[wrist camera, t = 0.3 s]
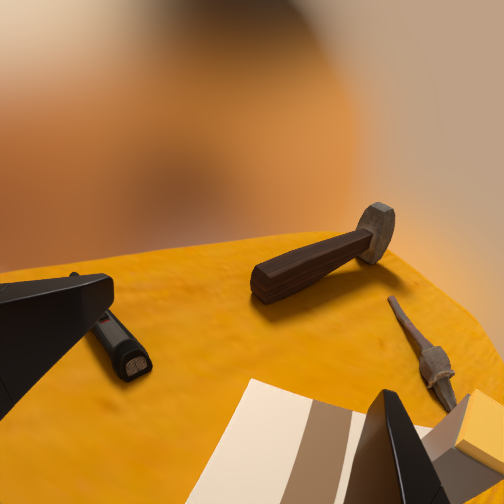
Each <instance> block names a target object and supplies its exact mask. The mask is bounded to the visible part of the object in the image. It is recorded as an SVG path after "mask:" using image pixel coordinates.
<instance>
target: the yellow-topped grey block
mask: <svg viewBox="0 0 504 504" xmlns="http://www.w3.org/2000/svg"><path fill="white" fill-rule="evenodd" d="M421 441H422V443H423V445H424V447H425V449H426V451H427V453H428V455H429V457H430V459H431V462H432V464H433V466H434V468H435V470H436V472H437V474H438V477H439V479H440V481H441V483H442V484H441V486H443V487H444V490H445V492H446V494H447V496H448V498H449V500H450V503H451V504H463V503H465V502H466V501H468V500H470V499H472V498H474V497H475V496H477V495H479V494H480V493H482V492H484V491H485V490H487V489H489V488H490V487H492V486H493V485H495V484H497V483H498V482H500V481H501V480H503V479H504V406H502V405H501V404H499V403H498V402H496V401H495V400H493V399H491V398H490V397H488V396H487V395H485V394H484V393H482V392H481V391H479V390H478V389H476V390H475V391H474V392H473V393H472V394H471V395H469V394H467V395H466V396H465V397H464V398H463V399H462V400H461V402H460V403H459V404H458V405H457V406H456V407H455V408H454V409H453V410H452V411H451V412H450V413H449V414H448V415H447V416H446V417H445V418H444V419H443V420H442V421H441V422H440V423H438V424H437V425H436V426H435V427H434V428H433V429H432V430H431V431H430V432H429V433H428V434H426V435H425V436H424V437H423V438H422V439H421Z"/></svg>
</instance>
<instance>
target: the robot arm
mask: <svg viewBox="0 0 504 504" xmlns="http://www.w3.org/2000/svg"><path fill="white" fill-rule="evenodd" d="M113 301H114V282H113V279H112V278H111V277H110V276H108V275H106V274H104V273H100V274H90V275H81V276H71V277H62V278H52V279H42V280H33V281H23V282H13V283H3V284H0V421H1V420H2V419H3V418H4V417H5V415H6V414H7V413H8V412H9V411H10V410H11V409H12V408H13V407H14V406H15V404H16V403H17V402H18V401H19V400H20V399H21V398H22V397H23V396H24V395H25V394H26V393H27V392H28V391H29V390H30V389H31V388H32V387H33V386H34V385H35V384H36V383H37V382H38V381H39V380H40V379H41V378H42V377H43V376H44V375H45V374H46V373H47V372H48V371H49V370H50V369H51V368H52V367H53V366H54V365H55V364H56V363H57V362H58V361H59V360H60V359H61V358H62V357H63V356H64V355H65V354H66V353H67V352H68V351H69V350H70V349H71V348H72V347H73V346H74V345H75V344H76V343H77V342H78V341H79V340H80V339H81V338H82V337H83V336H84V335H85V334H86V333H87V332H88V331H89V330H90V329H91V328H92V327H93V326H94V324H95V323H96V322H97V321H98V320H99V319H100V317H101V316H102V315H103V314H104V313H105V312H106V311H107V309H108V308H109V307H110V306H111V305H112V303H113ZM441 484H442V483H441V481H440V479H439V477H438V474H437V472H436V470H435V468H434V466H433V464H432V462H431V459H430V457H429V455H428V453H427V451H426V449H425V447H424V445H423V443H422V441H421V439H420V437H419V435H418V433H417V431H416V429H415V427H414V425H413V423H412V421H411V419H410V417H409V415H408V413H407V412H406V410H405V408H404V406H403V404H402V402H401V400H400V398H399V396H398V394H397V393H396V392H394V391H390V390H387V389H383V390H382V391H381V392H380V393H379V394H378V396H377V397H376V399H375V400H374V402H373V403H372V404H371V406H370V407H369V409H368V412H367V414H366V418H365V422H364V425H363V429H362V432H361V436H360V439H359V442H358V445H357V449H356V452H355V455H354V459H353V463H352V468H351V472H350V477H349V481H348V486H347V490H346V494H345V498H344V502H343V504H451V503H450V500H449V498H448V496H447V494H446V492H445V490H444V487H443V486H441Z"/></svg>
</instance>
